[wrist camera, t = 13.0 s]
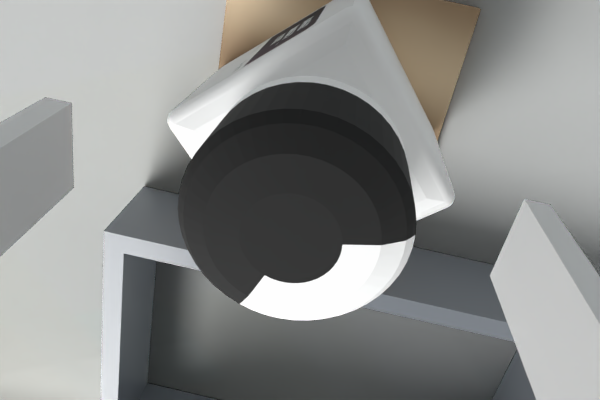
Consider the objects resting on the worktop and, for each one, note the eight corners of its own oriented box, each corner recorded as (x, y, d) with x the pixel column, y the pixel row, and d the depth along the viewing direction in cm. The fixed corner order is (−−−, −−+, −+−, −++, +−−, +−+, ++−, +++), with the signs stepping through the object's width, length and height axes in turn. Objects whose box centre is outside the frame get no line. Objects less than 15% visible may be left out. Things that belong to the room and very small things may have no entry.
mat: (234, -45, 23) (231, -45, 23) (478, 7, 23) (481, 9, 23) (208, 176, 28) (205, 180, 28) (408, 220, 28) (409, 226, 28)
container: (216, 69, 25) (86, 181, 14) (361, -18, 23) (353, 28, 11) (297, 199, 28) (247, 386, 16) (435, 133, 25) (492, 297, 14)
